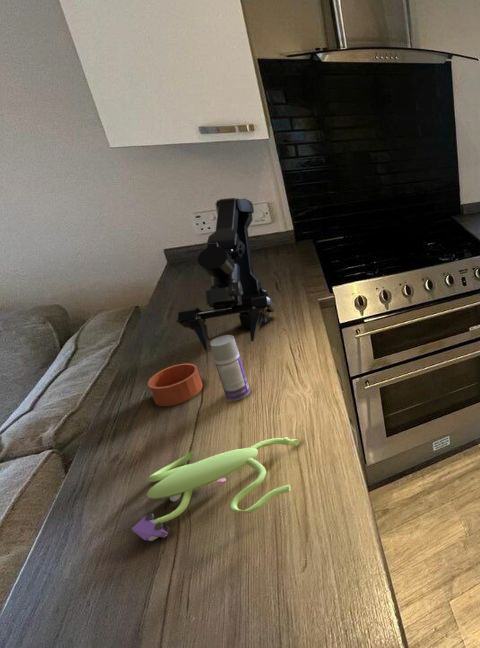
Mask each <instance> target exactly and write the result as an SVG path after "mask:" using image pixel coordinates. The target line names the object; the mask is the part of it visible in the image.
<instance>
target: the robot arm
mask: <svg viewBox="0 0 480 648" xmlns="http://www.w3.org/2000/svg"><path fill="white" fill-rule="evenodd" d="M215 209H216V224H215V231H214V232H213V233H211V234H209V236H208V237H207V241H206V244H205V245H204V247H203V249H202V251H201V252H200V253H199V254H198V256H197V263H198V265H199V266H200V267H201V269H203V270H204V271H205V272H206V274H207V275H209V276H210V277H211V284H212V285H211V286H210V289H209V290H204V298H205V303H206V304H205V305H207V306H208V307H210V308H212V309H208V310H201V309H200V308H199V307H190V308H185V309H180V310H178V311H177V313H176V314H175V322H176V323H178V324H179V325H181V326H182V327H183V328H189V329H190V330H192V331H194V332H195V333H196V335H197V337H198V339H199V342H200V343H201V346H202V348H203V350H204V351H205V352H207V351H209V345H210V343H209V333H208V325H207V324H206V323H205V322H206V320H207V319H213V318H218V317H224V316H228V315H229V316H230V315H236V314H238V318H239V320H240V324H238V327H239V328H243V329H249V330H250V341H251V342H255V340H256V337H257V335H258V332H259V329H260V328H261V327H263V326H265V325H266V324H268V323H270V322H271V321H272V320H273V319H274V318H273V316H270V314H271V313H274V312H275V311H276V308H275V303H274V301H273V299H272V298H271V296H270V295H269V293H268V291H267V290H266V289H265V287H264V286H263V285H262V282H261V281H260V280H259V279H258V278H257V277H256V276H255V275H254V274H255V273H254V267H253V259H252V252H251V244H250V238H249V237H250V236H249V230H248V229H249V228H250V225H251V223H252V222H253V214H254V213H255V210H254V205H253V202H252V201H251V200H249V199H248V198H236V197H229V198H228V197H227V198H219V199H218V200H216V202H215Z"/></svg>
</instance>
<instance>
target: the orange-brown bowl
mask: <svg viewBox="0 0 480 648" xmlns="http://www.w3.org/2000/svg"><path fill="white" fill-rule="evenodd" d="M147 387H148V390H149V392H150V395H151V398H152V400H153V402H154V404H155V405H157V406H160V407H171V406H175V405H179V404H182V403H184V402H187V401H189V400H190V399H192V398H194V397H195V396H197V395H198V394H200V392H201V391H202V389H203V387H204V383H203V380H202V376H201V373H200V370H199V368H198V366H197V365H196V364H193V363H180V364H175V365H171V366H169V367H166V368H164V369H161V370H160V371H158V372H157V373H155V374H154V375H152V376H150V378H149V380H148V381H147Z"/></svg>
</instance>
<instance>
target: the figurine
mask: <svg viewBox="0 0 480 648" xmlns="http://www.w3.org/2000/svg"><path fill="white" fill-rule="evenodd" d="M300 441H301V440H299V438H292V439H291V438H290V437H288V436H285V437H273V438H268V439H265V440H261V441H259V442H256V443H254V444H253V445H251V446H249V447H244V448H239V449H238V448H237V449H233V450H228V451H225V452H222V453H218V454H215V455H212V456H210V457H207V458H204V459H201V460H198V461H196V462H194V463H188V464H185V463H187V462H188V461H190V460H192V459H193V458H194V457H195V455H194V453H193V450H190V452H188V453H187V454H185V455H184V456H182V457H180V458H179V459H176V460H175V461H172V463H169V464H167V465H166V466H164V467H162V468H160V469H159V470H156V471H155V472H153V473H152V474H151V475H150V476H149V477H148V478H147V482H149V483H155V482H157V483H155V484H154V485H152V486H151V487H150V488H149V490H148V491H147V493H146V496H147V498H148V499H156V500H160V499H166V498H169V500H170V501H171V502H173V503H176V502H177V501H179V500H180V499H181V498H182V499H181V501H180V503H179V505H178V506H177V507H176V509H174V510H173V511H171V512H170V513H168V514H165V515H163V516H161V517H157V516H155V514H154V513H148V514H146V515H144V516H143V517H142V518H141V519H140V520H139V521H138V522H137V523H136V524H135V525H134V526H133V527H131V531H133V532H134V533H135V534H136V535H137V536H139V537H140V538H141V539H143V540H144V541H148V542H153V541H155V540H156V539H158V538H163V539H164V538H166V537H167V536H168V535H169V534H170V533H169V532H170V526H164V523H166V522H168V521H171V520H173V519H176V518H177V517H178V516H180V515H181V514H182V513H184V512H185V510H186V509H187V508H188V506H189V504H190V501H191V499H192V496H193V492H194V491H195V490H197V489H200V488H203V487H205V486H208V485H210V484H213V483H215V482H217V483H218V482H219V483H224V482H226V481H227V478H226V477H228V476H229V475H232V474H233V473H235V472H237V471H238V470H240V469H242V468H244V467H245V466H249V467H250V468H252V469H253V470H255V472H257V474H258V475H257V477H256V479H255V480H254V481H252V483H250V484H249V485H247V486H246V487H244V488H243V489H241V491H239V492H238V493H237V494H236V495H235V496H234V497H233V498H232V499H231V501H230V502H229V510H230V511H233V513H244V514H245V513H246V514H251V513H254V512H256V511H258V510H259V509H261V508H263V507H264V506H265V505H266V504H267V503H268V502H269V501H271V500H272V499H274V498H275V497H278V496H279V495H283V494H286V493H290V492H291V490H292V485H291V484H286V485H282V486H279V487H276V488H274V489H272V490H270V491H269V492H267V493H266V494H264V495H263V496H262V497H261V498H259V500H258V501H257V502H255V503H254V504H253V505H251V506H250V507H249V508H246V509H244V510H243V509H239V507H238V505H239V504H240V502H241V501H242V500H243V498H245V497H246V496H247V495H248V494H249V493H251V492H252V491H254V490H255V489H257V488H258V487H259V486H260V485H261V484H262V483H263V481H264V480H265V478H266V474H267V470H266V467H265V466H263V464H262V463H260V462H259V461H258V460H256V459H255V458H256V457H257V456H258V453H259V451H258V450H259V449H262V448H264V447H268V446H273V445H283V446H287V447H291V446H294V447H297V446H299V444H300ZM184 464H185V465H184ZM182 495H183V496H182Z"/></svg>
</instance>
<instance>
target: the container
mask: <svg viewBox="0 0 480 648" xmlns="http://www.w3.org/2000/svg"><path fill="white" fill-rule="evenodd" d="M209 345H210V349H211V353H212V356H213V360H214V364H215V366H216V370H217V374H218V376H219V379H220V382H221V386H222V389H223V392H224V395H225V398H226V400H227V401H228V402H236V401H239V400H242V399H244V398H246V397H247V396H248V395H249V394H250V392H251V390H250V386H249V381H248V379H247V376H246V372H245V368H244V364H243V362H242V358H241V354H240V352H239V349H238V346H237V343H236V340H235V336H233V335H231V334H224V335H220V336H217V337H215V338H213V339H212V340H211V341H210V342H209Z"/></svg>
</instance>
